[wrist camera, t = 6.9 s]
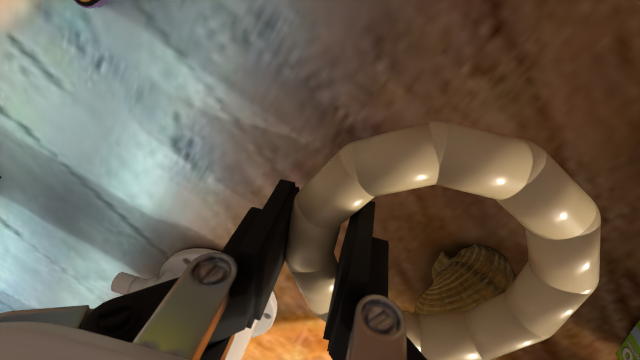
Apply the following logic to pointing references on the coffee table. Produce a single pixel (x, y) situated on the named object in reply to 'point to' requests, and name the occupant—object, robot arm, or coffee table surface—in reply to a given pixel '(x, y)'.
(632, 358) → the snack box
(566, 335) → the coffee table surface
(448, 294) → the seashell
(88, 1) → the smartphone
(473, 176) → the beige torus ring
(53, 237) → the coffee table surface
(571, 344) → the coffee table surface
